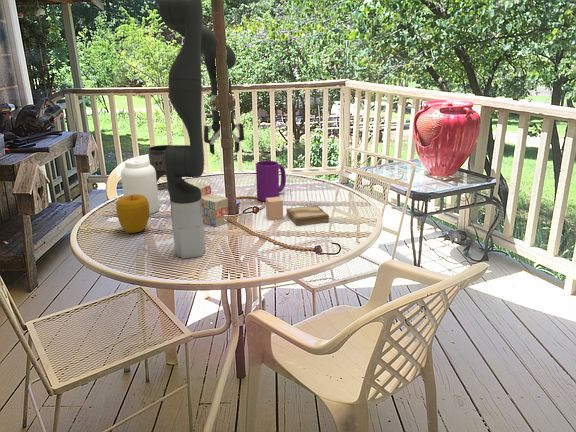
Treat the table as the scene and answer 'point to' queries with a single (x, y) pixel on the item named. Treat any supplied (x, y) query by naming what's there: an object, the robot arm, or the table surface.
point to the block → (274, 208)
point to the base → (307, 215)
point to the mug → (269, 179)
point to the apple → (133, 213)
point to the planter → (157, 159)
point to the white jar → (141, 181)
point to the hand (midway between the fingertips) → (225, 153)
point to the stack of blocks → (211, 205)
